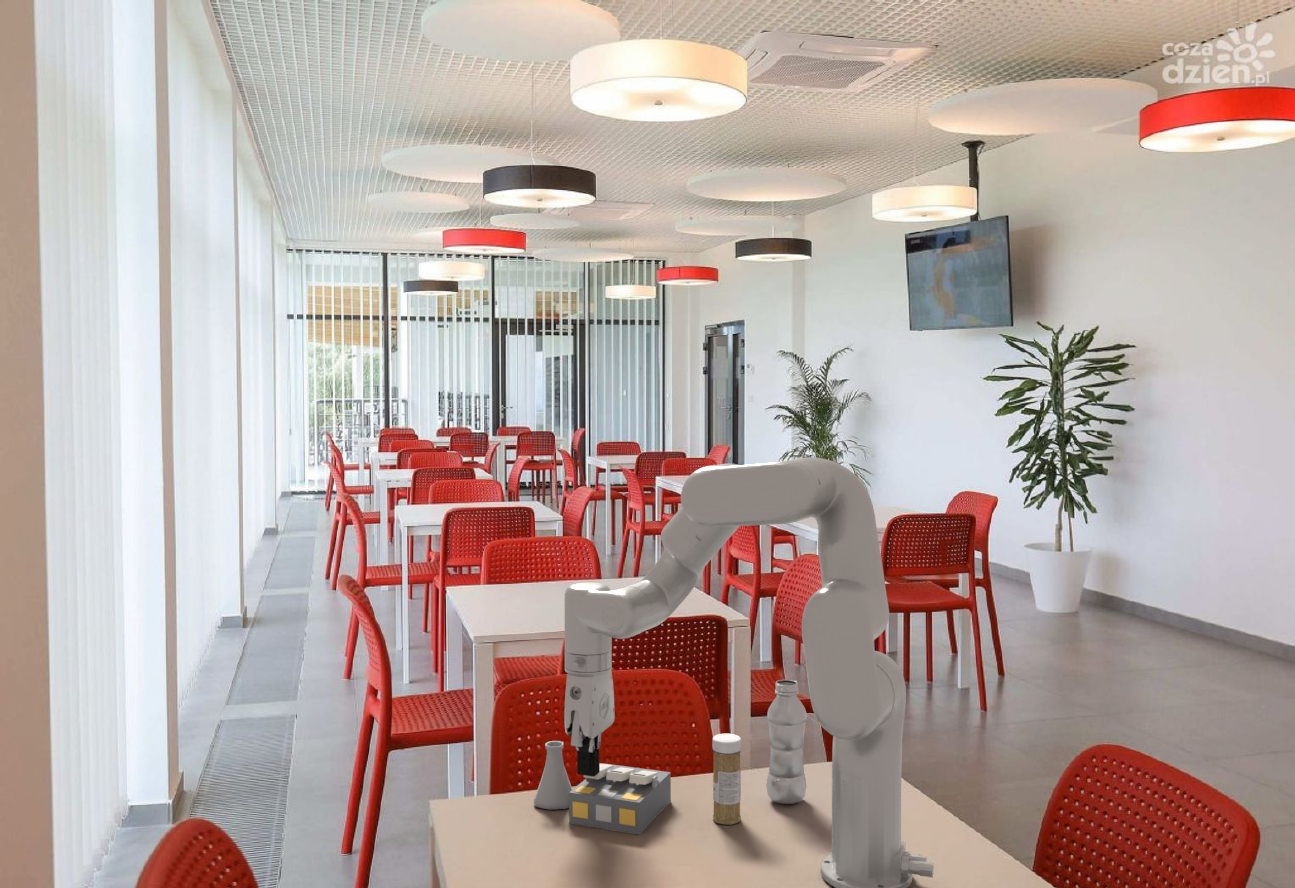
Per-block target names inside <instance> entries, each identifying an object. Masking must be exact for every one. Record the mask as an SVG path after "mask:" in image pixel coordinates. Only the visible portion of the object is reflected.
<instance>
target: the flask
mask: <svg viewBox="0 0 1295 888" xmlns="http://www.w3.org/2000/svg"><path fill="white" fill-rule="evenodd" d="M564 743H565V742H564V741H561V740H552V741H551V740H550V741H547V742H545V744H544V746H545V747H544V748H545V750H546V760H545V765H544V768H543V772H542V776H541V779H540V781H539V785H538V787H537V790H536V792H535V796H534V799H533V802H534V803H533V804H534V805H533V806H534V807H536V808H540V809H543V810H544V809H545V810H567V809H569V792H570V791H571V790H573V789H574V788H573V786H572V785H571V782H570V780H569V779H570V778H569V777H568V773H567V770H566V767H565V765H564V758H563V749H564V748H565V745H564Z"/></svg>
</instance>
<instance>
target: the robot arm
mask: <svg viewBox="0 0 1295 888" xmlns="http://www.w3.org/2000/svg"><path fill="white" fill-rule="evenodd" d="M863 483H864V482H862V481H861V479H860V478H859V477H858V476H857V475H856V474H855V473H854V472H853V471H851V470H850V469H849V468H847V467H846V466H844V465H841V464H840V463H838V462H835V461H833V460H830V459H826V458H821V457H815V456H814V457H812V456H811V457H807V456H806V457H798V458H794V459H790V460H789V459H788V460H782V461H775V462H767V463H766V462H764V463H754V464H742V465H740V464H736V463H721V464H720V463H719V464H713V465H706V466H703V467H700V468H699V469H696V470H695V471H694V472H692V473H691V474H690V475H689V476H688V477H687V479H686V480H685V481H684V484H683V485H682V489H681V492H680V503H681V505H680V508H679V509H678V510H677V512H676V513H675V514H674V515H673V516H672V517H671V519H669V521H668V522H667V523H666V524H665V525H664V527H663V529H662V530H661V534H660V540H661V543H662V545H663V547H664V550H663V552H662V554H661V555H660V557H659V559H658V560H657V561H656V562H655V564H654V566H653V567H652V568H651V569H650V570H649V571H648V572H647V573H646V574H645V576H644V577H643V578H642V579H641V580H640V581H638V582H637V583H633V584H630V585H627V586H624V587H621V588H617V589H612V590H611V588H610V587H609V586H608V585H606V584H604V583H601V582H593V581H591V582H589V581H588V582H577V583H572V584H571V585H569V586H568V587H567V588H566V589H565V591H564V592H565V593H564V671H565V673H567V675H566V682H565V695H564V729H565V730H564V731H565V733H566V735H567V736H569V737H570V736H571V740H570V746H571V747H575V750H576V751H577V752H576V753H577V754H576V755H577V756H576V757H577V760H576V761H577V763H576V764H577V769H576V770H577V771H576V772H577V774H578V775H579V776H584V775H586V776H593V777H594V776H596V775H597V774H598V773H599V771H600V747H601V742H602V739H601V738H602V733H603V732H604V731H605V730H607V729H608V728H610V727H611V726H612V725H613V723H614V722H615V719H616V718H615V717H616V716H615V694H614V693H615V692H614V681H613V674H612V673H613V672H612V668H613V667H612V665H613V664H612V662H613V661H612V655H613V651H612V648H613V645H612V644H613V643H612V642H613V639H619V640H623V639H629V638H631V637H635V636H636V635H639V634H641V633H643V632H646V631H647V630H648V631H649V630H651V629H653V628H655V627H658V626H660V625H661V624H663V622H665V621H666V620H667V619H668V618H670V616H671V615H672V614H673V613H674V612H675V611H676V610H677V608H678V607H679V606H680V605H681V604H682V603H683V602H684V601H685V600H686V599H687V597H688V596H689V595H690V593H692V591H693V589H694V588H695V587H696V585H697V583H698V581H699V580H700V578H701V576H702V574H703V573H704V570H705V568H706V566H707V565H708V564H709V562H710V561H711V560H712V559H713V558H714V556H715V555H716V554H717V553H718V552H719V551H720V550H721V549H722V547H724V545H725V544H726V542H727V541H728V540H729V539H730V538H731V537H732V536H733V535H734V534H735V533H736V532H737V530H738V529H739V528H740V527H746V526H747V527H748V526H766V525H767V526H770V525H771V526H772V525H787V524H791V523H796V522H800V521H802V520H805V519H806V520H807V519H809V518H814V520H816V523H817V527H818V528H817V529H818V533H817V555H818V559H819V565H820V567H819V568H820V576H821V588H819V589H818V590H817V591H815V592H814V593H813V594H812V595H811V596H810V598H809V599H808V601H807V602H806V604H805V606H804V609H803V611H802V612H803V613H802V618H801V637H802V645H803V654H804V660H805V670H806V676H807V683H808V690H809V698H810V703H811V707H812V710H813V713H814V715H815V718H816V719H817V722H818V723H819V725H820V726H821V727H822V728H823V730H825V731H826V732H827V733H829V734H830V735H831V736H832V737H833V738H832V752H831V753H832V758H831V759H832V760H831V761H832V762H831V853H829V854H828V855H827V856H825V857H824V858H823V859H822V860H821V863H820V875H821V877H822V878H823V880H824V881H825V882H827V883H828V884H829V885H831V886H832V887H834V888H909V887H910V886H911V885H912V883H913V875H917V876H920V877H925V878H934V872H935V871H934V869H935V863H934V862H931V861H927V860H928V858H927V856H926V855H921V854H910V852H909V851H907V850H906V844H907V843H906V841H904V840H903V841H902V770H903V769H902V768H903V765H902V764H903V763H902V762H903V760H902V757H903V732H904V723H905V714H906V713H905V711H906V703H907V702H906V700H907V689H906V681H905V676H904V675H903V673H902V670H901V669H900V666H899V665H898V664H897V663H896V662H895V660H894V659H892V658H891V657H890V656H888V655H887V654H885V653H883V652H881V651H879V650H878V651H877V650H875V645H874V641H875V640H876V639H877V638H879V637H880V636H881V635H882V634H883V632H884V631H885V630H886V627H887V626H888V624H889V618H890V608H889V602H888V595H887V589H886V581H885V574H884V567H883V561H882V555H881V549H880V544H879V542H880V541H879V535H878V529H877V521H876V515H875V509H874V504H873V502H872V499H871V496H870V494H869V491H868V490H867V488H866V486H865V484H863ZM612 638H613V639H612Z"/></svg>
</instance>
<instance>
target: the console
mask: <svg viewBox="0 0 1295 888" xmlns="http://www.w3.org/2000/svg"><path fill="white" fill-rule="evenodd" d="M609 765H613V770H614V769H617V768H620V767H623V768H630V769H636V770H635V773H637V772H640V771H643V770H645V771H653V772H658V780H657V776H654V777H653V778H652V782H651V783H648V784H645V785H643V784H636V783H629V780H630V775H631V774H634V773H631V774H630V775H629V779H627V780H624V781H614V780H607V779H606V776H607V772H606V776H604V777H602V778H600V779H591V778H585V779H583V781H581V782H580V783H579V784H577V785H576V786H575V787H574V788H572V789H573V790H571V791H570V792H569V807H568V815H569V819H568V820H569V823H568V824H571V825H577V826H582V827H583V826H584V827H589V828H595V829H602V830H609V831H614V832H615V831H616V832H621V833H628V834H634V835H639V836H640V835H641V834H643V831H645V830H646V828H648V826H649V825H651V823H652V822H653V821H654V820H655V819H656V818H657V817H658V816H659V815H660V814H661V813H662V811H664V809H666V807H668V805H669V804H670V803H671V802H672V801H671V798H672V797H671V795H672V794H671V790H672V789H671V787H672V786H671V784H672V783H671V782H672V781H671V778H672V777H671V776H672V775H671V771H665V770H662V771H661V770H658V769H657V770H656V769H650V768H649V769H648V768H647V769H646V768H640V767H633V766H625V765H617V764H610V763H609ZM608 771H610V769H609V770H608Z"/></svg>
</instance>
